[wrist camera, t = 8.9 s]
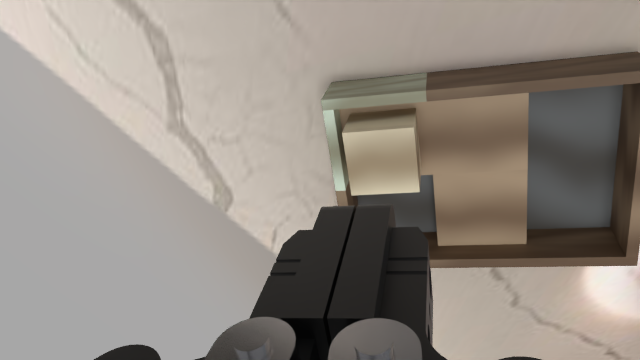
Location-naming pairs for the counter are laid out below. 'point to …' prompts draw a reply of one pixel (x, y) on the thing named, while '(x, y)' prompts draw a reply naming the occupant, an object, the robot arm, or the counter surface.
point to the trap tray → (512, 160)
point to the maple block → (383, 152)
